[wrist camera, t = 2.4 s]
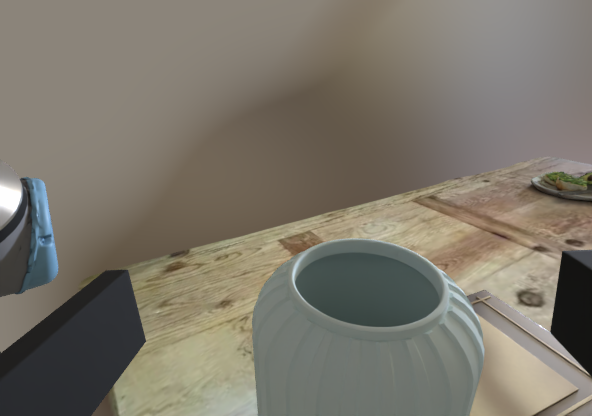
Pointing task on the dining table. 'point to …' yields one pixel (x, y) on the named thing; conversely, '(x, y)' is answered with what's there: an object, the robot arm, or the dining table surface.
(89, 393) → the robot arm
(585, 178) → the avocado toast plate
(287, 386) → the vase
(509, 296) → the dining table surface
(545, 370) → the picture frame
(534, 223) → the dining table surface
